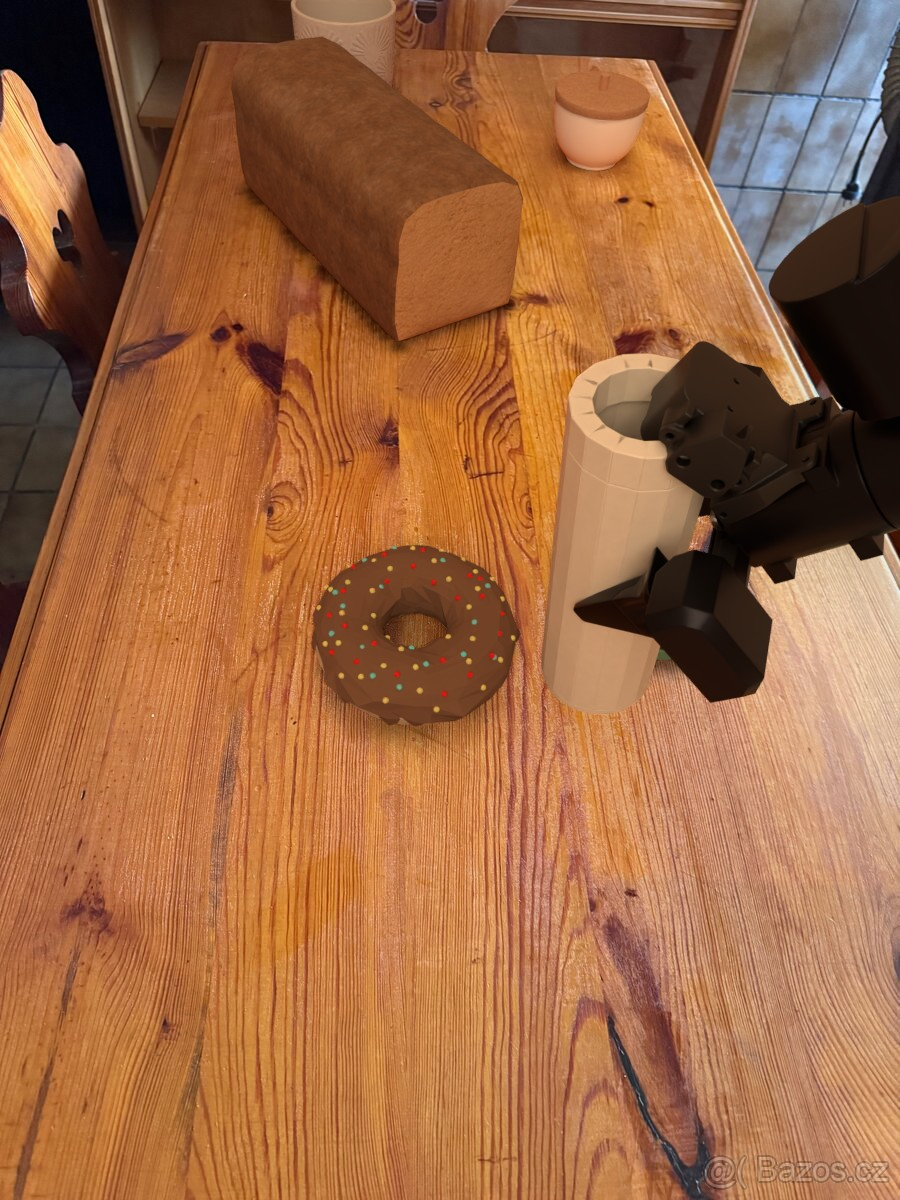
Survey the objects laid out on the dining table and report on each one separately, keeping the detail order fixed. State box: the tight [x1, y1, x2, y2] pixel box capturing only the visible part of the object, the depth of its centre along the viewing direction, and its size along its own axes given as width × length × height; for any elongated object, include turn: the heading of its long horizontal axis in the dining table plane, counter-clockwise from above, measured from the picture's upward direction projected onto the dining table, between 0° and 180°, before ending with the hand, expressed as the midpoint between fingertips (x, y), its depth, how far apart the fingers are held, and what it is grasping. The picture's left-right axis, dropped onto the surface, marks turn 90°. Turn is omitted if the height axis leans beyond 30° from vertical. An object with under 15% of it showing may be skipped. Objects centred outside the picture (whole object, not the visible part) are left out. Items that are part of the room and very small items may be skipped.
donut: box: [311, 542, 522, 727], centre depth 59 cm, size 14×14×5 cm
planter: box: [290, 0, 397, 88], centre depth 109 cm, size 12×12×11 cm
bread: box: [230, 37, 524, 342], centre depth 87 cm, size 14×34×14 cm, turn 33°
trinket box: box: [553, 70, 651, 172], centre depth 103 cm, size 11×11×9 cm
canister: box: [540, 352, 704, 716], centre depth 48 cm, size 7×7×22 cm
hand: (593, 563), depth 49 cm, fingers closed on canister, 7 cm apart
